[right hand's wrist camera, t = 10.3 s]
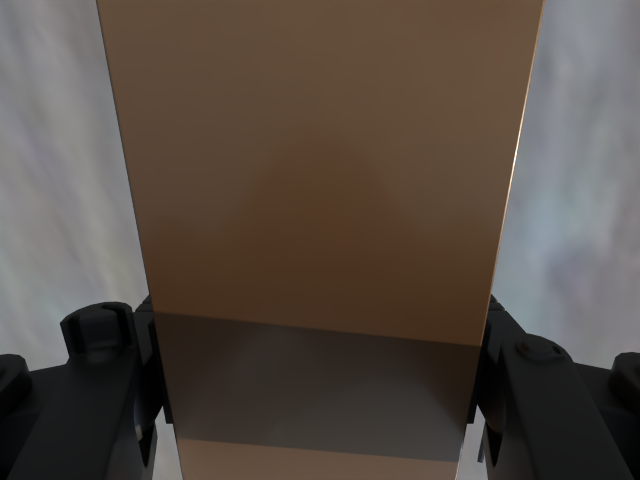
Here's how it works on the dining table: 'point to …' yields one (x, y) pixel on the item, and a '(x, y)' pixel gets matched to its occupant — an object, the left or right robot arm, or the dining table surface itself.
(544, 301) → the dining table surface
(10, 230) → the dining table surface
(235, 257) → the post
